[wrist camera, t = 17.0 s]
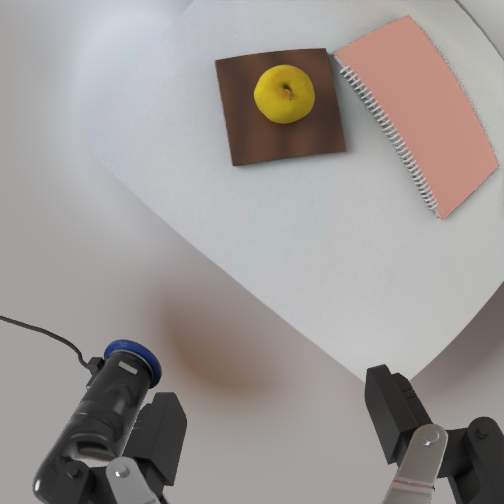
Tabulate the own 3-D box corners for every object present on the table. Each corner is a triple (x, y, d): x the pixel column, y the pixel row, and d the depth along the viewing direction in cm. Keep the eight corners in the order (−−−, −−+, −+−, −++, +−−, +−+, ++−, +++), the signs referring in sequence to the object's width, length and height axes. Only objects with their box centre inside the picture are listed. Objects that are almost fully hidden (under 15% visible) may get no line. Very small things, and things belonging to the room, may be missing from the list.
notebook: (325, 59, 30) (328, 54, 28) (404, 18, 27) (409, 13, 25) (431, 221, 36) (438, 224, 34) (492, 164, 33) (499, 165, 31)
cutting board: (233, 166, 35) (232, 166, 33) (215, 64, 31) (214, 60, 29) (342, 151, 34) (346, 151, 33) (323, 51, 30) (325, 48, 28)
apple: (283, 138, 32) (292, 131, 25) (243, 104, 31) (239, 87, 24) (318, 102, 31) (335, 86, 23) (278, 68, 30) (284, 44, 22)
